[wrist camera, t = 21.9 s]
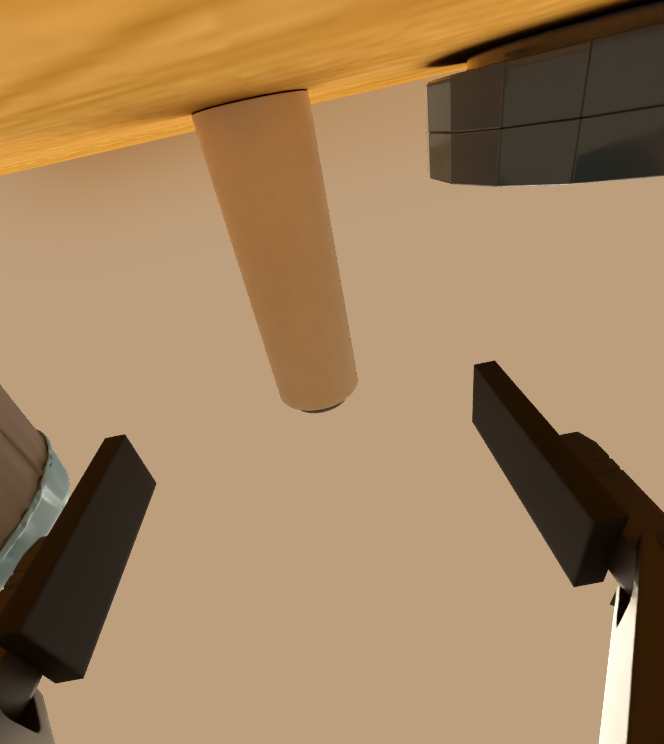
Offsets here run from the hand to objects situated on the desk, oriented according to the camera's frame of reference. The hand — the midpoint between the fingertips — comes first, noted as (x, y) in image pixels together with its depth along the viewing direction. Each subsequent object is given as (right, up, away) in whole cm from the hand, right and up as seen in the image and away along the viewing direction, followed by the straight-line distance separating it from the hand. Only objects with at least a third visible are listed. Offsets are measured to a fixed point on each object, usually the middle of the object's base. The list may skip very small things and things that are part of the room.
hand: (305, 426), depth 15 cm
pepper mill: (-3, +14, +2) cm, 14 cm away
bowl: (+13, +17, +1) cm, 21 cm away
